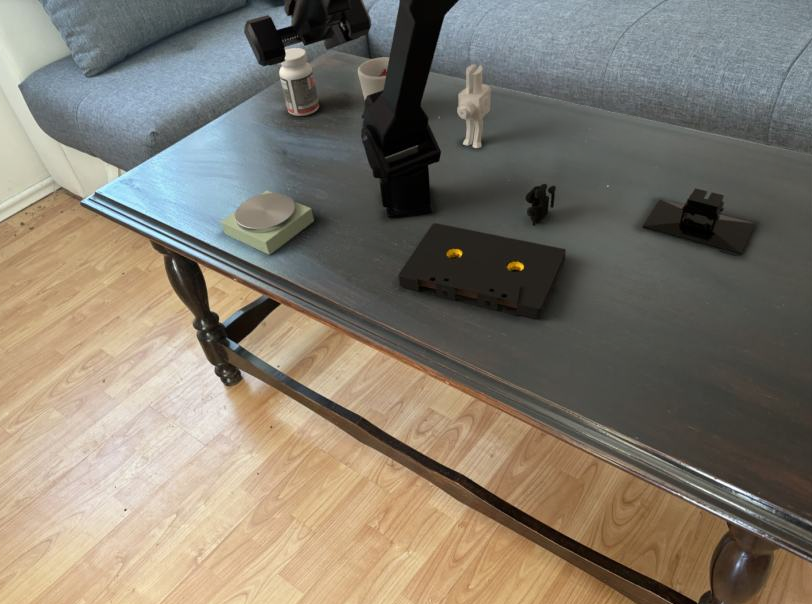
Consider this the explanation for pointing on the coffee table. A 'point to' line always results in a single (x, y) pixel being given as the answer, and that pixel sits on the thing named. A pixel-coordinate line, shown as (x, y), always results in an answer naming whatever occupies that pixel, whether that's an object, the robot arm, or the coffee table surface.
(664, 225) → the build plate
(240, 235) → the scale
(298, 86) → the pill bottle
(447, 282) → the cassette tape
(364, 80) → the cup
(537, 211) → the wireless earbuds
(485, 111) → the toy robot
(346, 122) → the coffee table surface
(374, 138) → the robot arm
